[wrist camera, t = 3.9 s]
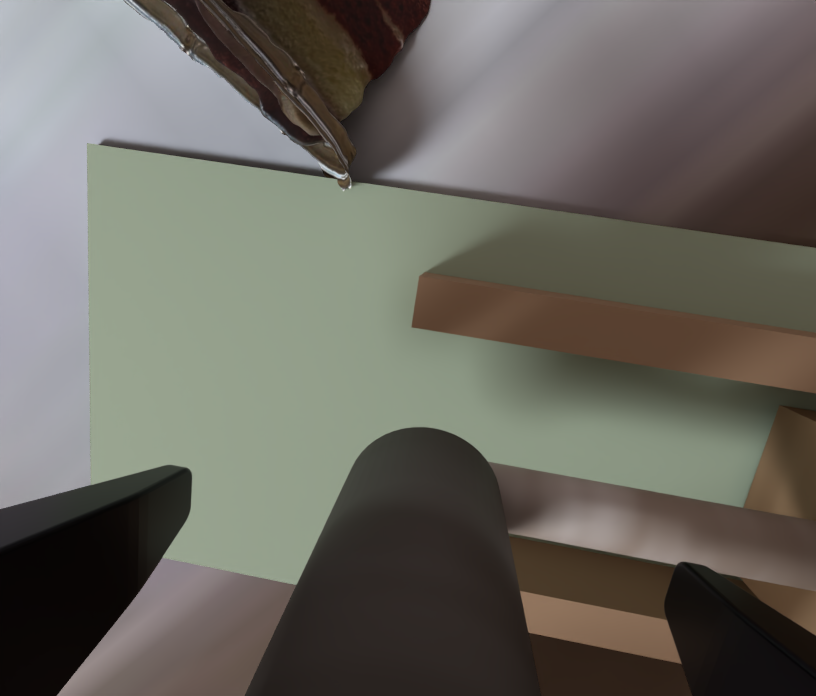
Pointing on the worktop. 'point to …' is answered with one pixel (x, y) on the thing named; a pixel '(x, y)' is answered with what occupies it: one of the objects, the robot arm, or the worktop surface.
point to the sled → (508, 561)
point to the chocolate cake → (294, 58)
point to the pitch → (428, 360)
